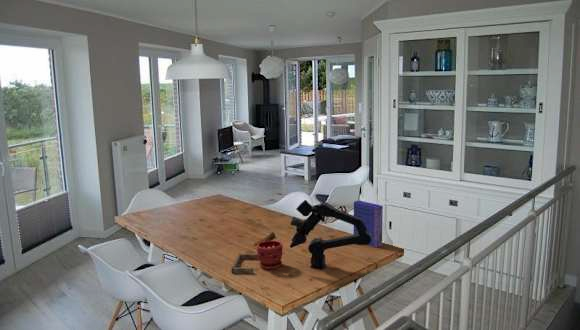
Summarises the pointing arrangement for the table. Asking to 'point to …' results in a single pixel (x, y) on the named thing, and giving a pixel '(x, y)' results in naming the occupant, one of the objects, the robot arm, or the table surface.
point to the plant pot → (270, 254)
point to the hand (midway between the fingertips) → (291, 244)
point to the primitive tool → (265, 238)
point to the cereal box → (370, 220)
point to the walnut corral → (243, 270)
